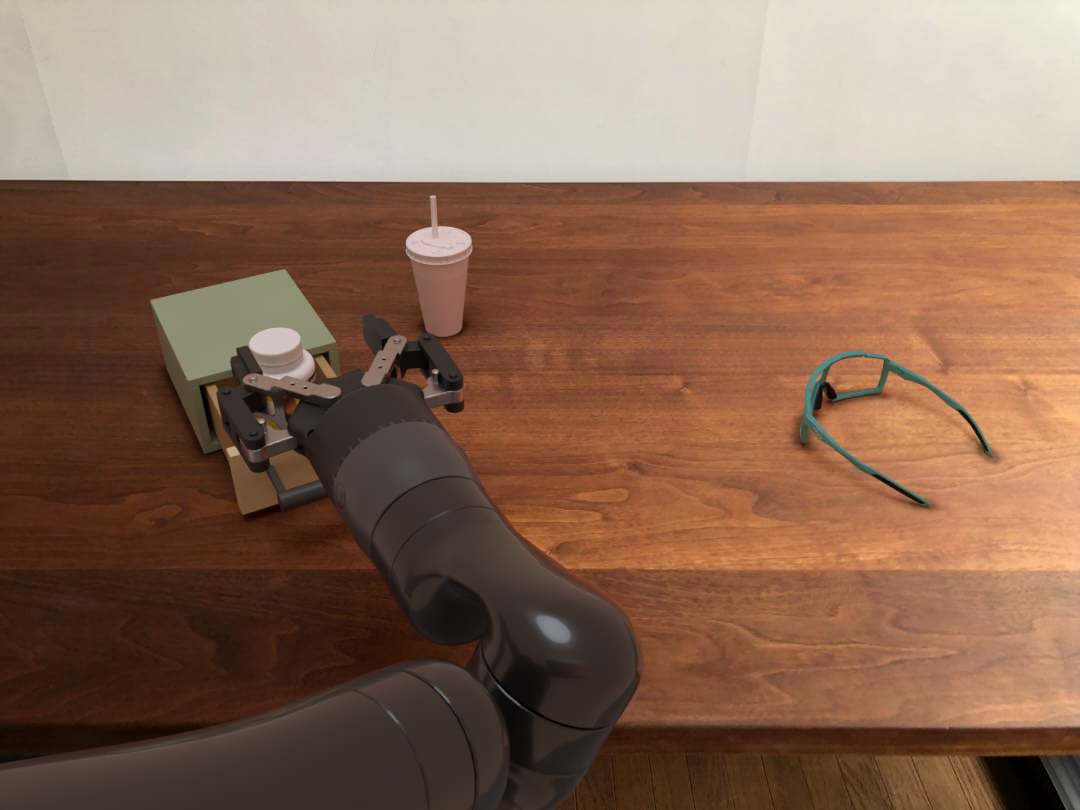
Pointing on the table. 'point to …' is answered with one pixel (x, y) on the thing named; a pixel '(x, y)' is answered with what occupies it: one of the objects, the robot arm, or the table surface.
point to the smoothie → (440, 274)
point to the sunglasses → (821, 385)
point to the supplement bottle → (282, 357)
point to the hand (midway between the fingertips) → (307, 341)
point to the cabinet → (230, 334)
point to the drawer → (288, 471)
